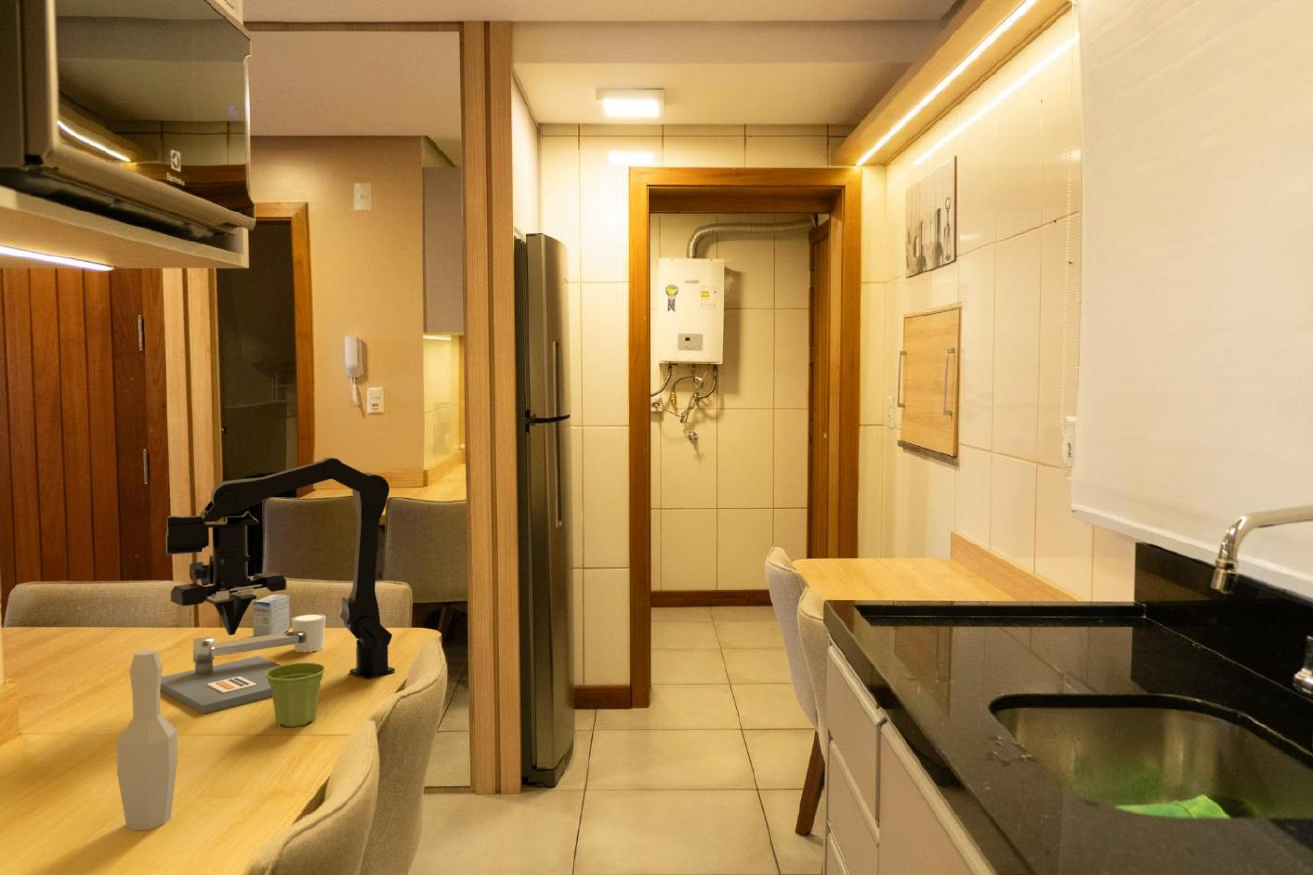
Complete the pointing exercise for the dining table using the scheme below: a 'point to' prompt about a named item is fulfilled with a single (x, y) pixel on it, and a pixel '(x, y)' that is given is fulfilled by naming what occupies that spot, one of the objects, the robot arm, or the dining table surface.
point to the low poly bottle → (147, 750)
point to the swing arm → (242, 645)
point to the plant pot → (295, 692)
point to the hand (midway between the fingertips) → (231, 634)
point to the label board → (220, 684)
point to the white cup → (310, 631)
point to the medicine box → (271, 615)
